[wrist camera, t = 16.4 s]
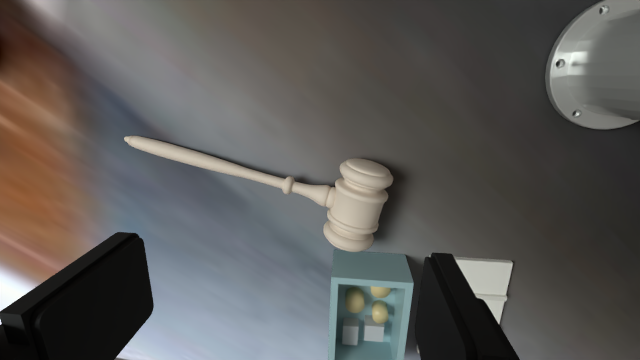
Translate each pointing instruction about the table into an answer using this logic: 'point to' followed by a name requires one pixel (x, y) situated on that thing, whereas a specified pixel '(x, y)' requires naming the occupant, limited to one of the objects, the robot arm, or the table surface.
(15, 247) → the table surface
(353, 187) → the gavel
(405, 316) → the tub
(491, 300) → the lid
